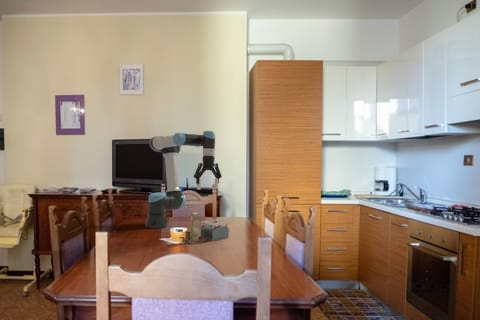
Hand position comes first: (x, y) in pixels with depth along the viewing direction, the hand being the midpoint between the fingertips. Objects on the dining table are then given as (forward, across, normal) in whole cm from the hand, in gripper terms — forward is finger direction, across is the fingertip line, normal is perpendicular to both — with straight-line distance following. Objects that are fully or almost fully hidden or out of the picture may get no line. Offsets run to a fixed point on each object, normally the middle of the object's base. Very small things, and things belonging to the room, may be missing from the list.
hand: (207, 189), depth 198 cm
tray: (+29, -17, -12) cm, 35 cm away
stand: (+29, -14, -2) cm, 32 cm away
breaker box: (+29, -2, -11) cm, 31 cm away
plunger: (+23, -2, -11) cm, 26 cm away
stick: (+28, -17, -12) cm, 35 cm away
